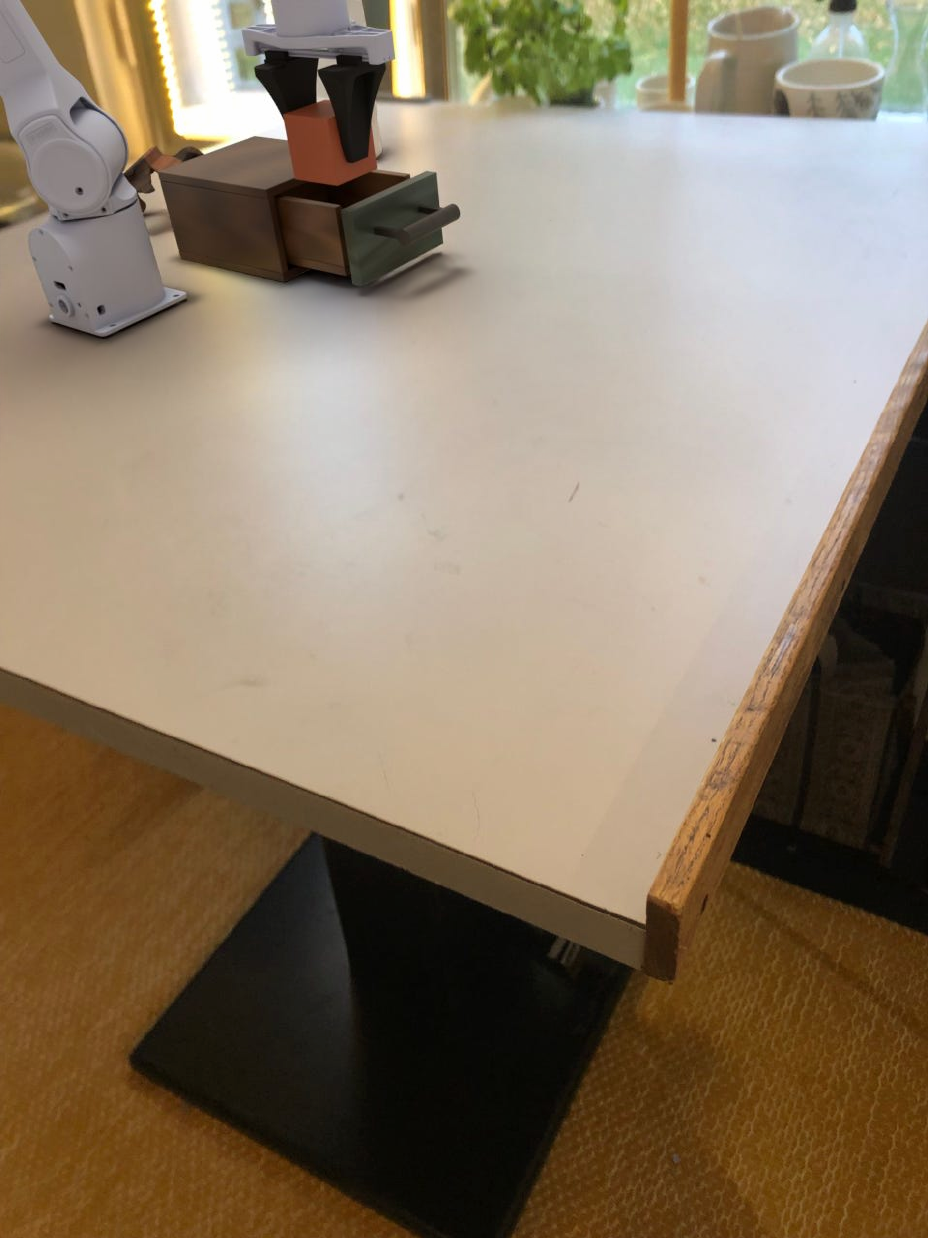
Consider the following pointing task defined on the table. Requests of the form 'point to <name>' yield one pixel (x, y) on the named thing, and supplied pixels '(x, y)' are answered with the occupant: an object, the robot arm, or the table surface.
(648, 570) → the table surface
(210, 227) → the cabinet
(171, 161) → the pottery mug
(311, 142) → the block
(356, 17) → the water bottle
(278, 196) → the drawer
